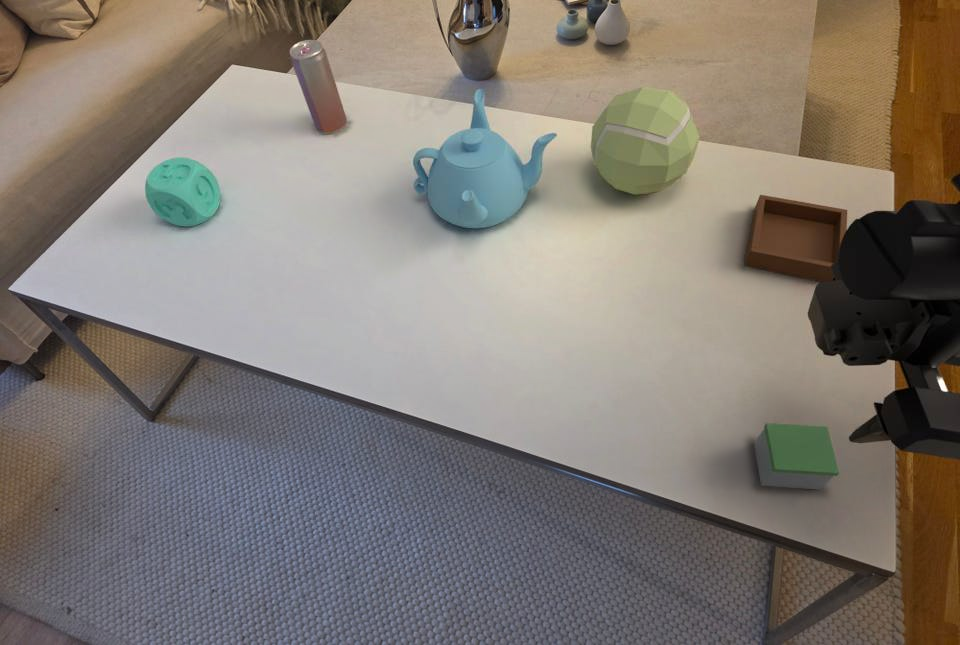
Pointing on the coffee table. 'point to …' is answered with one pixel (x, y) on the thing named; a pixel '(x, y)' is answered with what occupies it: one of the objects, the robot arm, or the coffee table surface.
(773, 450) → the container
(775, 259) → the tray
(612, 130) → the tennis ball
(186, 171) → the decorative dice
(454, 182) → the teapot
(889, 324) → the robot arm
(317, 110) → the beverage can
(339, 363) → the coffee table surface
